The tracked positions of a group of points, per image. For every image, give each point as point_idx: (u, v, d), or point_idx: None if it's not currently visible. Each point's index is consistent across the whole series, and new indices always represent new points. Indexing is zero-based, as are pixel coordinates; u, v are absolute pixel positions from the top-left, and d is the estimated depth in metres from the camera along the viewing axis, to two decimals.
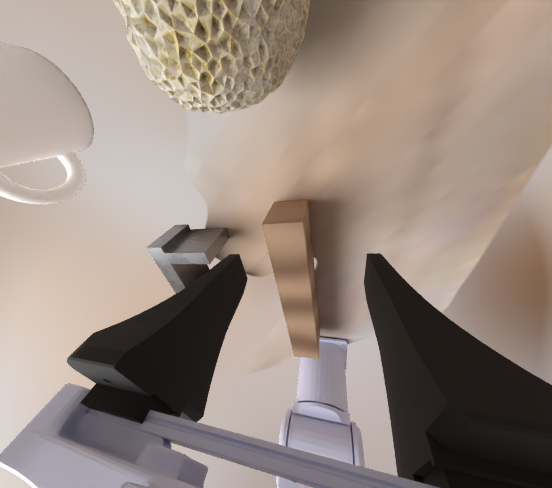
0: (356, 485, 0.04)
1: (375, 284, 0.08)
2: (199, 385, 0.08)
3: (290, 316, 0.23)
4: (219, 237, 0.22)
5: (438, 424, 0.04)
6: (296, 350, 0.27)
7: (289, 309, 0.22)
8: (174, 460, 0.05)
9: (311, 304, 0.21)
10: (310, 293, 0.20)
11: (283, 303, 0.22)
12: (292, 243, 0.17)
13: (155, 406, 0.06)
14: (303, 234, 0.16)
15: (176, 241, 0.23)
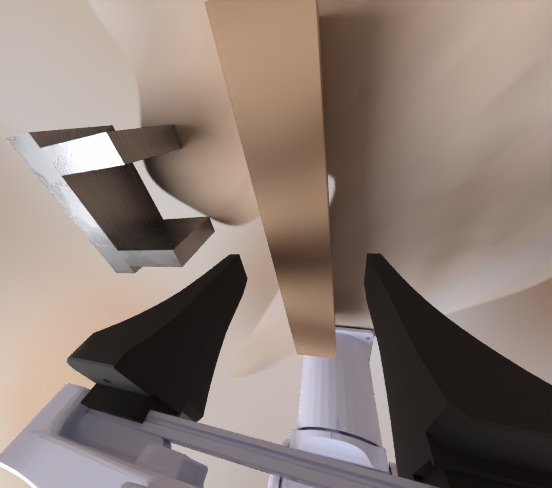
0: (356, 486, 0.04)
1: (375, 284, 0.08)
2: (199, 385, 0.08)
3: (288, 280, 0.13)
4: (157, 130, 0.12)
5: (438, 424, 0.04)
6: (299, 344, 0.17)
7: (286, 265, 0.12)
8: (174, 460, 0.05)
9: (328, 249, 0.11)
10: (326, 222, 0.10)
11: (274, 252, 0.12)
12: (285, 60, 0.07)
13: (155, 406, 0.06)
14: (314, 15, 0.06)
15: None
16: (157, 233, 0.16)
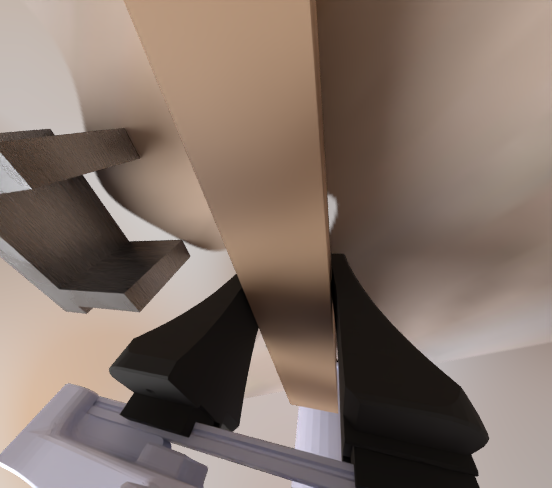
0: (356, 486, 0.04)
1: (333, 283, 0.09)
2: (236, 393, 0.08)
3: (275, 334, 0.10)
4: (96, 137, 0.09)
5: (347, 406, 0.04)
6: (293, 396, 0.14)
7: (271, 318, 0.09)
8: (174, 460, 0.05)
9: (327, 306, 0.08)
10: (326, 273, 0.07)
11: (254, 304, 0.09)
12: (245, 14, 0.04)
13: (200, 418, 0.06)
14: None
15: None
16: (115, 262, 0.13)
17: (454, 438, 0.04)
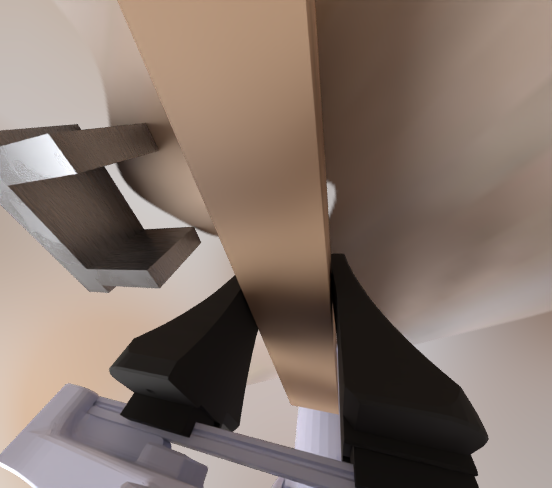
0: (356, 486, 0.04)
1: (333, 283, 0.09)
2: (236, 393, 0.08)
3: (275, 336, 0.10)
4: (124, 131, 0.10)
5: (347, 406, 0.04)
6: (293, 397, 0.14)
7: (271, 320, 0.09)
8: (174, 460, 0.05)
9: (327, 308, 0.08)
10: (325, 275, 0.07)
11: (253, 306, 0.09)
12: (241, 14, 0.03)
13: (200, 418, 0.06)
14: None
15: None
16: (134, 247, 0.14)
17: (454, 438, 0.04)
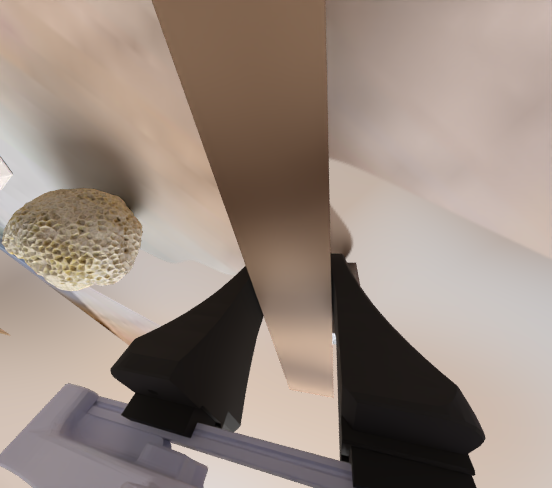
0: (356, 486, 0.04)
1: (332, 283, 0.09)
2: (237, 393, 0.08)
3: (280, 325, 0.11)
4: None
5: (344, 406, 0.04)
6: (292, 382, 0.15)
7: (277, 311, 0.10)
8: (174, 460, 0.05)
9: (328, 301, 0.09)
10: (328, 272, 0.08)
11: (262, 298, 0.09)
12: (272, 61, 0.04)
13: (201, 418, 0.06)
14: None
15: None
16: None
17: (451, 437, 0.04)
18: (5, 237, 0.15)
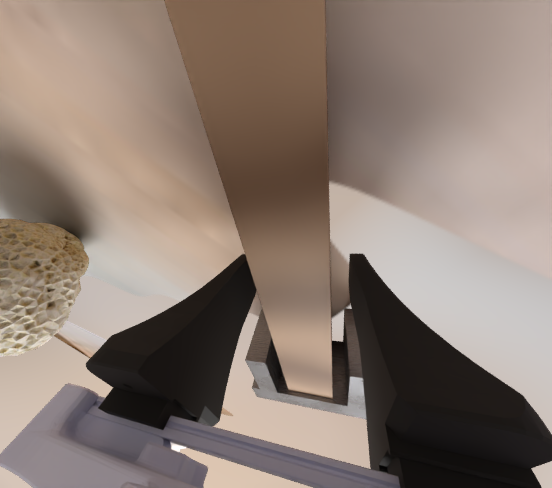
0: (356, 485, 0.04)
1: (355, 283, 0.09)
2: (216, 389, 0.08)
3: (279, 321, 0.11)
4: (261, 319, 0.16)
5: (393, 415, 0.04)
6: (291, 382, 0.15)
7: (276, 306, 0.10)
8: (174, 460, 0.05)
9: (327, 295, 0.09)
10: (327, 266, 0.08)
11: (262, 293, 0.10)
12: (275, 58, 0.05)
13: (175, 411, 0.06)
14: None
15: None
16: (345, 362, 0.16)
17: (519, 452, 0.03)
18: None
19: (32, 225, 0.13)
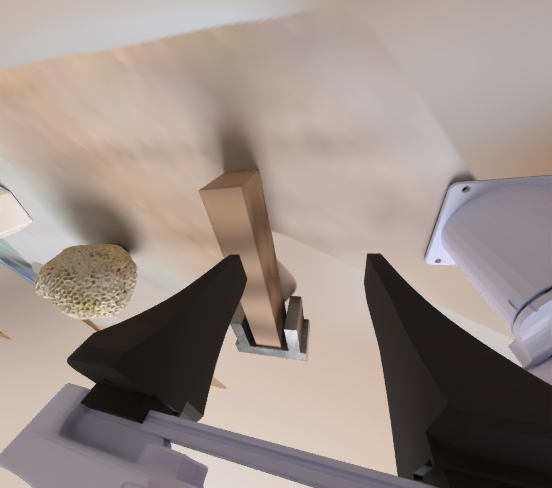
0: (356, 486, 0.04)
1: (375, 284, 0.08)
2: (199, 385, 0.08)
3: (245, 299, 0.21)
4: None
5: (438, 424, 0.04)
6: (257, 337, 0.26)
7: None
8: (174, 460, 0.05)
9: (264, 285, 0.20)
10: (261, 273, 0.19)
11: None
12: (233, 212, 0.15)
13: (155, 406, 0.06)
14: (243, 202, 0.15)
15: None
16: None
17: None
18: (36, 284, 0.21)
19: (112, 247, 0.24)
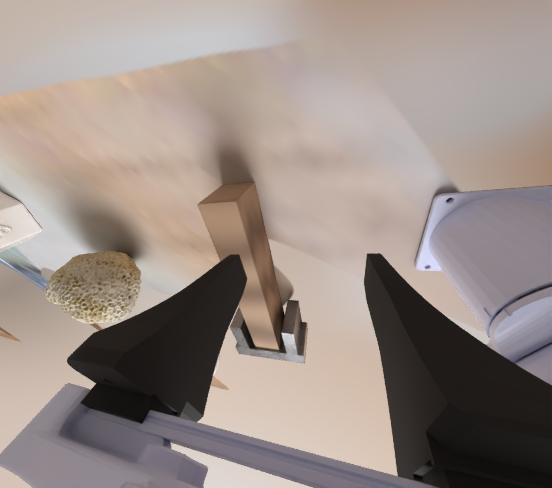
0: (356, 486, 0.04)
1: (375, 284, 0.08)
2: (199, 385, 0.08)
3: (244, 304, 0.22)
4: None
5: (438, 424, 0.04)
6: (256, 340, 0.27)
7: None
8: (174, 460, 0.05)
9: (261, 291, 0.21)
10: (258, 279, 0.20)
11: None
12: (230, 224, 0.16)
13: (155, 406, 0.06)
14: (239, 215, 0.16)
15: None
16: None
17: None
18: (47, 291, 0.23)
19: (117, 255, 0.25)
